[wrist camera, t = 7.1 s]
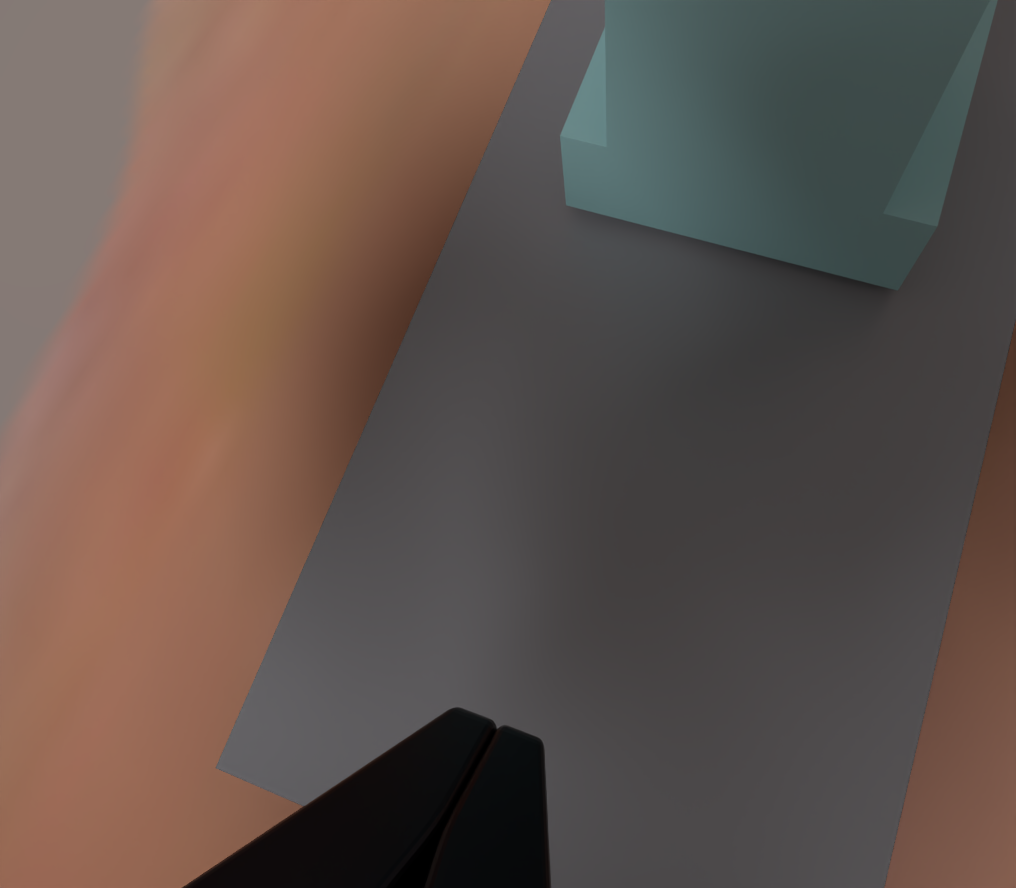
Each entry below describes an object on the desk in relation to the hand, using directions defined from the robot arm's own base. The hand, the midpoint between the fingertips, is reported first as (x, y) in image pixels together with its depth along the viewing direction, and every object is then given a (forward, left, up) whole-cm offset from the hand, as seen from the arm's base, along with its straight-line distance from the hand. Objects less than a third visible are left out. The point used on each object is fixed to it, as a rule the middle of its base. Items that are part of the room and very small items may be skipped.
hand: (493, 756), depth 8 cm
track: (+9, 0, -8) cm, 12 cm away
